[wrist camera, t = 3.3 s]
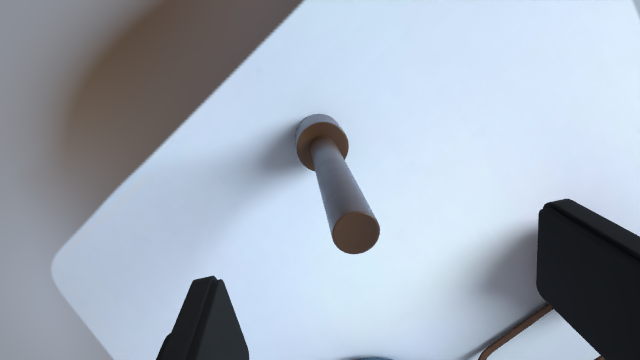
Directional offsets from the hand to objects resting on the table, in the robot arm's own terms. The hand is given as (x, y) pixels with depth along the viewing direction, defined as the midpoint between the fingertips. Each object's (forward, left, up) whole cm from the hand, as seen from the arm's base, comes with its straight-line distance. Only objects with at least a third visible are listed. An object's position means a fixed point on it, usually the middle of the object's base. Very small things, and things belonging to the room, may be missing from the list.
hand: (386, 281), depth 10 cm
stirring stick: (0, 0, -18) cm, 18 cm away
